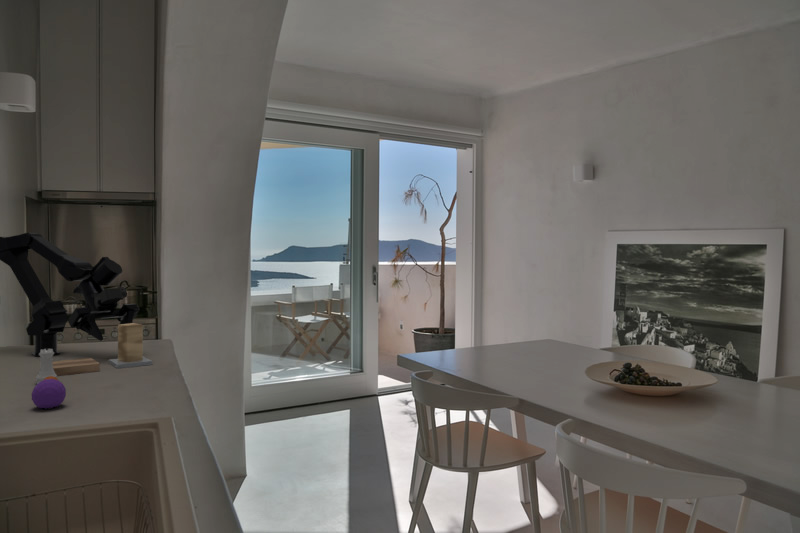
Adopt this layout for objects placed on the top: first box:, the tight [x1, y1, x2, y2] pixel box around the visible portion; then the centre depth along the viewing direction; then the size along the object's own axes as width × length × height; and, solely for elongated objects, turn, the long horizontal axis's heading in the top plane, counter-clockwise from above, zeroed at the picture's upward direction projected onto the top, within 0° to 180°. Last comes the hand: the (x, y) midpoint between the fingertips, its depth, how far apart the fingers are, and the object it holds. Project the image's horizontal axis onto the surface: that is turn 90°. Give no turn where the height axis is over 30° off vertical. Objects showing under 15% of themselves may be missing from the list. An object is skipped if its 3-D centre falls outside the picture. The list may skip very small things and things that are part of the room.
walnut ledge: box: [52, 357, 101, 377], centre depth 152 cm, size 10×11×2 cm
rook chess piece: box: [35, 349, 58, 385], centre depth 138 cm, size 4×4×8 cm
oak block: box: [117, 322, 144, 362], centre depth 161 cm, size 4×4×10 cm
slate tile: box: [108, 356, 153, 369], centre depth 162 cm, size 9×9×1 cm
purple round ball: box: [31, 376, 67, 410], centre depth 123 cm, size 6×6×20 cm
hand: (117, 337), depth 164 cm, fingers open, 9 cm apart
